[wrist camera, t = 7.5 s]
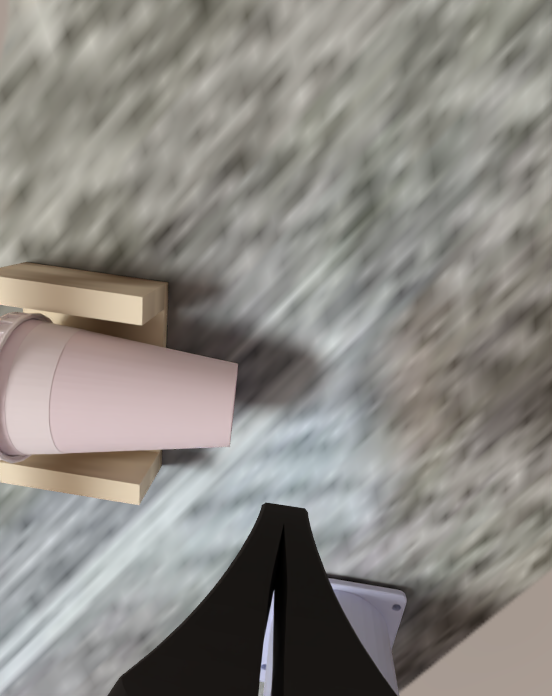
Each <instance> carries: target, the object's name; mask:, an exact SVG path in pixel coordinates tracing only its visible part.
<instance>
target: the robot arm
mask: <svg viewBox="0 0 552 696" xmlns="http://www.w3.org/2000/svg"><path fill="white" fill-rule="evenodd" d="M406 603H407V598H406V595H405V593H404V592H403V591H401V590H397V589H391V588H385V587H379V586H373V585H367V584H361V583H355V582H349V581H343V580H337V579H331V578H328V577H327V574H326V572H325V569H324V567H323V564H322V561H321V559H320V556H319V553H318V550H317V547H316V544H315V541H314V538H313V534H312V531H311V527H310V523H309V518H308V512H307V511H306V509H305V508H298V507H292V506H285V505H279V504H272V503H265V504H263V505H262V507H261V511H260V513H259V516H258V518H257V521H256V523H255V525H254V527H253V529H252V531H251V533H250V534H249V536H248V538H247V540H246V541H245V543H244V545H243V546H242V548H241V550H240V551H239V553H238V555H237V556H236V557H235V559H234V560H233V562H232V563H231V565H230V566H229V568H228V569H227V571H226V572H225V573H224V575H223V576H222V577H221V579H220V580H219V581H218V583H217V584H216V585H215V587H214V588H213V589H212V590H211V591H210V593H209V594H208V595H207V596H206V597H205V599H204V600H203V601H202V602H201V603H200V604H199V605H198V606H197V608H196V609H195V610H194V611H193V612H192V613H191V614H190V615H189V616H188V617H187V618H186V619H185V620H184V622H183V623H182V624H181V625H180V626H178V627H177V628H176V629H175V630H174V631H173V632H172V633H171V634H170V635H169V636H168V637H167V638H166V639H165V640H164V641H163V642H161V643H160V644H159V645H158V646H157V647H156V648H155V649H154V650H153V651H151V652H150V653H149V654H148V655H147V656H145V657H144V658H143V659H142V660H140V661H139V662H138V663H137V664H136V665H134V666H133V667H132V668H131V669H129V670H128V671H127V672H126V673H124V674H123V675H122V676H121V677H120V678H119V679H118V681H117V682H116V684H115V685H114V687H113V688H112V690H111V691H110V693H109V694H108V696H258V691H259V681H261V682H265V684H264V694H263V696H399V691H398V686H397V680H396V674H395V668H394V662H393V656H392V647H393V644H394V641H395V638H396V635H397V631H398V628H399V625H400V622H401V619H402V616H403V612H404V609H405V606H406ZM395 604H397V605H395Z"/></svg>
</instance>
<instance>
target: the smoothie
mask: <svg viewBox="0 0 552 696" xmlns="http://www.w3.org/2000/svg"><path fill="white" fill-rule="evenodd" d="M237 371H238V364H237V363H233V362H228V361H223V360H219V359H214V358H210V357H205V356H201V355H196V354H192V353H187V352H183V351H178V350H173V349H169V348H164V347H160V346H155V345H151V344H146V343H142V342H137V341H132V340H128V339H123V338H119V337H114V336H110V335H105V334H101V333H96V332H91V331H87V330H84V329H79V328H74V327H69V326H64V325H59V324H54V323H53V322H52V321H51V319H50V318H48V317H46V316H45V315H43V314H41V313H20V312H12V313H8V314H5V315H3V316H1V317H0V460H4V461H6V462H9V463H16V462H21V461H24V460H25V459H27V458H28V457H30V456H31V455H33V454H67V453H87V452H112V451H137V450H162V449H187V448H212V447H230V440H231V431H232V422H233V412H234V403H235V393H236V382H237Z"/></svg>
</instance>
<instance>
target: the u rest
mask: <svg viewBox="0 0 552 696" xmlns="http://www.w3.org/2000/svg"><path fill="white" fill-rule="evenodd" d="M168 283H169V282H162V281H155V280H148V279H141V278H134V277H127V276H120V275H113V274H106V273H99V272H92V271H85V270H78V269H71V268H64V267H57V266H50V265H43V264H36V263H28V262H24V263H20V264H15V265H11V266H6V267H1V268H0V305H6V306H13V307H20V308H23V313H41V314H43V315H45V316H46V317H48V318H50V319H51V321H52V322H53V323H54V324H59V325H64V326H69V327H74V328H79V329H84V330H87V331H91V332H96V333H101V334H105V335H110V336H114V337H119V338H123V339H128V340H132V341H137V342H142V343H146V344H151V345H155V346H160V347H164V348H166V337H167V310H168ZM161 466H162V450H137V451H112V452H87V453H67V454H33V455H31V456H30V457H28V458H27V459H25V460H24V461H21V462H16V463H9V462H6V461H4V460H0V479H1V482H2V483H8V484H14V485H20V486H26V487H32V488H38V489H44V490H51V491H57V492H63V493H69V494H75V495H81V496H87V497H93V498H99V499H105V500H111V501H118V502H124V503H130V504H136V505H140V503H141V501H142V499H143V498H144V496H145V494H146V492H147V491H148V489H149V487H150V486H151V484H152V482H153V480H154V479H155V477H156V475H157V473H158V472H159V470H160V468H161Z"/></svg>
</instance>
